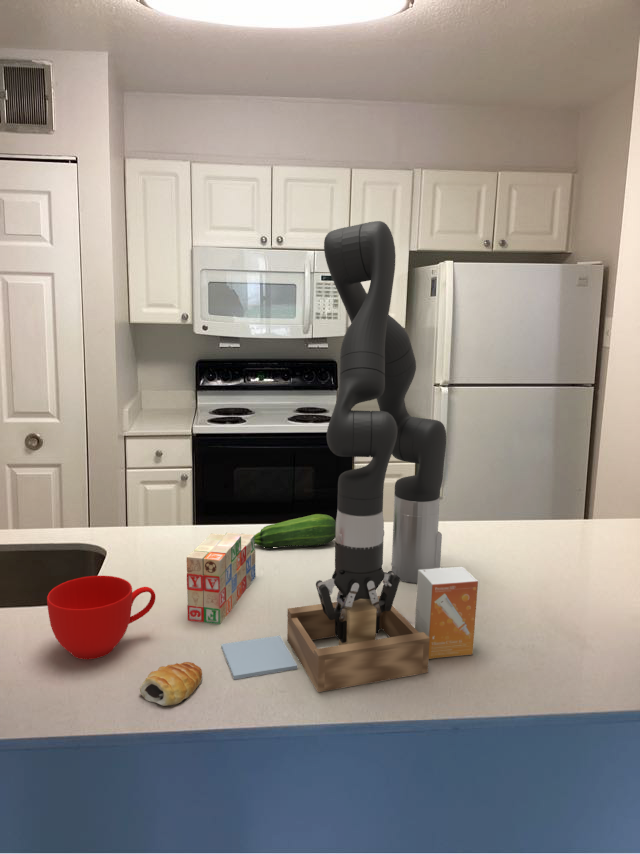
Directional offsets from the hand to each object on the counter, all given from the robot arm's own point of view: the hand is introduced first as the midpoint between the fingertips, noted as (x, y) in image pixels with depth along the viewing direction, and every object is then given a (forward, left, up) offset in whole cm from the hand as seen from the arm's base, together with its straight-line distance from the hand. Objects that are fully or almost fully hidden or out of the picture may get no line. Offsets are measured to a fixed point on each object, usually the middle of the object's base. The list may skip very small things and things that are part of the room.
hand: (356, 637), depth 110 cm
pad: (+15, -4, -3) cm, 16 cm away
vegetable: (-5, -51, -4) cm, 51 cm away
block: (0, 0, -2) cm, 2 cm away
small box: (-15, +2, -4) cm, 15 cm away
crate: (0, 0, -3) cm, 3 cm away
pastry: (+30, +1, -4) cm, 30 cm away
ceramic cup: (+38, -15, -4) cm, 41 cm away
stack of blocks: (+16, -28, -4) cm, 32 cm away
